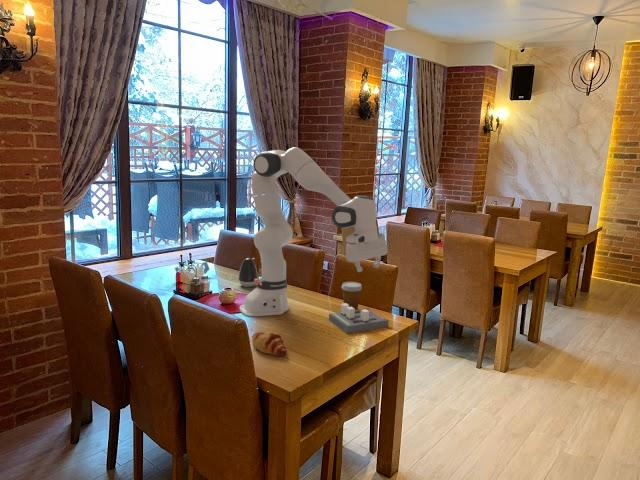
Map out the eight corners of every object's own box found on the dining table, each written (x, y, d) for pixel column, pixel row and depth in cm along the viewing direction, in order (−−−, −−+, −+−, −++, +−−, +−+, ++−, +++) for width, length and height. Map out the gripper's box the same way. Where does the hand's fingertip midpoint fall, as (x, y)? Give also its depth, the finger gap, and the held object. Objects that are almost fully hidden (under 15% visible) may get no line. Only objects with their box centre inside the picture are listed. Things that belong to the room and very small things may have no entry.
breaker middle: (349, 318, 200) (349, 309, 200) (346, 316, 203) (346, 307, 202) (354, 317, 201) (354, 308, 201) (351, 315, 204) (351, 306, 203)
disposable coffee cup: (359, 313, 217) (360, 288, 214) (339, 311, 218) (340, 286, 216) (362, 306, 226) (363, 282, 223) (342, 304, 228) (343, 280, 225)
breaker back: (343, 314, 205) (344, 305, 204) (340, 312, 207) (341, 303, 206) (348, 313, 206) (349, 305, 205) (345, 311, 208) (345, 303, 207)
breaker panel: (346, 333, 193) (347, 326, 193) (328, 320, 207) (329, 313, 207) (388, 326, 202) (388, 319, 201) (368, 314, 216) (368, 307, 215)
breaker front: (363, 321, 198) (364, 312, 197) (360, 319, 200) (360, 309, 199) (368, 320, 199) (369, 311, 198) (365, 318, 201) (365, 309, 200)
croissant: (247, 349, 184) (238, 334, 180) (266, 332, 189) (258, 317, 185) (279, 368, 168) (270, 352, 164) (299, 349, 173) (291, 333, 169)
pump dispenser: (262, 285, 255) (262, 257, 252) (249, 289, 247) (249, 261, 244) (247, 281, 260) (247, 254, 258) (234, 286, 252) (234, 258, 249)
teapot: (202, 284, 254) (201, 264, 252) (174, 282, 255) (173, 263, 253) (210, 276, 269) (209, 257, 267) (183, 275, 270) (183, 256, 268)
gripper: (378, 231, 200) (380, 264, 202) (342, 238, 188) (344, 273, 190) (390, 232, 195) (391, 265, 197) (353, 239, 183) (355, 275, 185)
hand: (368, 269), depth 194 cm, fingers open, 8 cm apart
